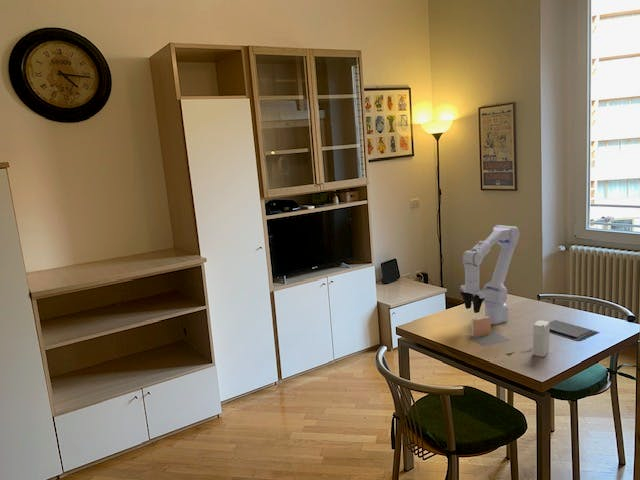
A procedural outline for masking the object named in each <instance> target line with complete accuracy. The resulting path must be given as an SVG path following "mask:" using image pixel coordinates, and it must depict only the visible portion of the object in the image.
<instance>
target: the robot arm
mask: <svg viewBox="0 0 640 480" xmlns="http://www.w3.org/2000/svg"><path fill="white" fill-rule="evenodd" d="M491 232H492V233H490V235H488V237H487V238H485V239H484V240H479V241H478V242H477V244H475V245H474V246H473V247H472V248H471V249H470V250H465V251H464V252H463V253H462V257H461V262H462V264H463V267H464V284H462V285H460V290H461V292H460V296H461V298H462V299H463V300H462V301H463V303H464V307H465V309H466V310H469V309H471V308H472V305H473V312H474V314H478V313H480V311H481V307H482V306H483V305H484V317H487V316H489V317H491V325H498V324H499V325H500V324H502V323H506V322H509V307H508V305H507V304H506V302H507V298H508V297H507V295H508V289H507V288H506V286H505V285H504V283H505V280H506V277H507V274H508V270H509V269H510V268H509V267H510V264H511V260H512V259H513V255H514V251H515V248H516V247H517V246H518V243H519V239H520V236H521V233H520V229H519V228H518V226H513V225H511V226H510V225H501V224H496V225H495V226H494V227H493V228H492V231H491ZM495 244H497V245H499V246H500V251H499V255H498V257H497V261H496V264H495V268H494V270H493V273H492V278H491V280H490V281H489V282H486V283H485V284H484V286H483V288H482V290H481V288H480V265H481V264H482V262H483V261H484V257H485V256H486V255H487V254H488V253H489V252H490V251H491V249H492V248H491V247H492V246H494V245H495ZM482 304H483V305H482Z"/></svg>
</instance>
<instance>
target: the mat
mask: <svg viewBox="0 0 640 480" xmlns="http://www.w3.org/2000/svg"><path fill="white" fill-rule="evenodd" d="M465 338H468V339H470V340H471V341H473V342H475V343H476V344H478V345H480V346H481V347H484V346H489V345H495V344H499V343H503V342H504V343H505V342H509V341H511V339H509V338H507V337H505V336H503V335H501V334H499V332H498V333H497V332H495V331H494V330H492V329H491V334H487V335H482V336H477V337H473V336H472V333H471V334H466V335H465Z"/></svg>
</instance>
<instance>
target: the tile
mask: <svg viewBox="0 0 640 480" xmlns="http://www.w3.org/2000/svg"><path fill="white" fill-rule="evenodd" d="M470 321H471V323H470V324H471V334H472V336H473V337H477V336H482V335H487V334H491V330H492V324H491V317H489V316H487V317H485V316H483V317H477V318H471V319H470Z"/></svg>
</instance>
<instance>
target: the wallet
mask: <svg viewBox="0 0 640 480" xmlns="http://www.w3.org/2000/svg"><path fill="white" fill-rule="evenodd" d="M549 322H550V329H549V334H552V335H556V336H558V337H562V338H565V339H569V340H572V341H575V342H581V341H584V340H586V339H588V338H590V337H593V336H595V335H598V334H600V331H597V330H594V329H590V328H586V327H583V326H580V325H575V324H573V323H570V322H565V321H562V320H557V319H554V320H552V321H549Z"/></svg>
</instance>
